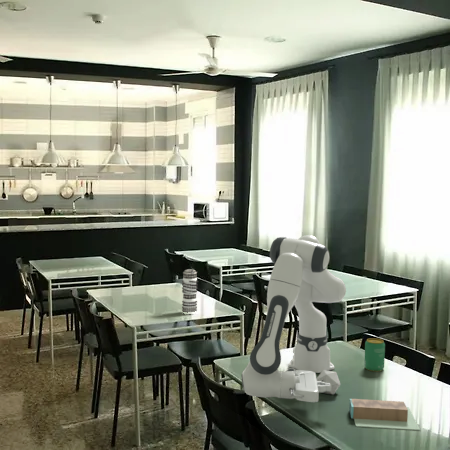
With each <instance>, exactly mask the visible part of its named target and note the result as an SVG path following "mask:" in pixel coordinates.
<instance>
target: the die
mask: <svg viewBox="0 0 450 450" xmlns="http://www.w3.org/2000/svg"><path fill="white" fill-rule="evenodd" d="M316 379H317V381H321V382H325V383H330V384H331V391H324V392H320V393H322V394H327V395H332V396H334V395H335V394H336V392H337V390H338V389H339V388H340V386H341V381H340V379H339V375H338V373H337V371H333V370H328V371H326V370H323V371H322V372H321V373H319V375H317V377H316Z"/></svg>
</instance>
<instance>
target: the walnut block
mask: <svg viewBox="0 0 450 450" xmlns="http://www.w3.org/2000/svg"><path fill="white" fill-rule="evenodd" d="M348 404H349V405H348V406H349V407H348V408H349V409H348V411H349V416H350V418H351V419H353V420H354V419H370V420H386V421H403V422H407V418H408V409H407V407H408V406H407V405H406V403H405V401H398V400H382V399H381V400H378V399H364V398H363V399H362V398H349V403H348Z"/></svg>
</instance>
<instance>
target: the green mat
mask: <svg viewBox="0 0 450 450" xmlns="http://www.w3.org/2000/svg"><path fill="white" fill-rule="evenodd" d="M406 407H407V409H408V418H407V422H403V421H386V420H370V419H353V420H354V424H355V425H354V426H355V427H357V428H358V427H360V428H373V429H374V428H375V429H389V430H390V429H393V430H405V431H407V430H408V431H409V430H410V431H411V430H412V431H421V428H420V427H419V425H418V422H417V421H416V419H415V417H414V415H413V413H412V411H411V409H410V407H408V406H406Z"/></svg>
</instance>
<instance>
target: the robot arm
mask: <svg viewBox="0 0 450 450" xmlns="http://www.w3.org/2000/svg"><path fill="white" fill-rule="evenodd" d="M269 258H270V260H271V262H272V264H274V265H273V268H272V271H271V274H270V276H269V281H268V285H267V293H266V303H267V304H266V306H267V307H266V308H267V309H266V318H265V320H264V324H263V325H264V326H263V328H262V331H261V332H262V333H261V336H260V339H259V341H258V342H257V343H256V345H255V346H254V347H253V348H252V350H251V352H250V354H249V355H250V356H249V361H248V364H247V366H245V369H244V370H243V371H242V373H241V383H242V385H241V387H242V390H243V391H244V393H246V395H249V396H251V397H259V398H272V397H274V398H277V399H288V400H297V401H300V402H307V403H317V402H319V394H320V393H321V392H324V391H331V384H330V383H325V382H321V381H317V374H318V373H319V374H320V373H321V372H322V371H323V370H326V371H333V370H335V365H334V364H333V363H332V362H331V349H330V348H329V346H328V338H327V337H328V335H327V316H326V315H325V313H324V312H322V311H321V310H319V309H318V308H317V307H315V306H314V304H313V303H322V304H323V303H325V304H332V303H341V301H342V300H344V298H345V296H346V292H347V287H346V284H345V282H344V281H343V279H342V278H340V277H338V276H335V275H334V274H333V273H332V272H330V271H329V270H328V268H327V267H328V265H329V263H330V251H329V249H328V248H327V246H325V245H324V244H321V242H320V241H319V238H317V237H316V236H314V235H311V234H307V235H306V234H304V235H302V236H300V237H299V238H290V237H289V238H287V237H286V236H285V237H284V236H281V237H277V238H275V239H274V240H273V241H272V243H271V245H270V248H269ZM294 307H295V309H296V312H297V314H298V325H299V326H298V327H299V328H298V329H299V330H298V331H299V332H298V333H297V344H296V345H295V347H293V349H292V350H293V351H292V353H293V356H292V359H291V360H290V362H289V364H288V367H289V368H288V369H286V370H284V371H282V370H279V368H280V365H281V364H282V363H281V362H282V355H281V349H280V342H281V337H282V334H283V329H284V326H285V322H286V319H287V317H288V314H289V313H290V312H291V310H292V309H293V308H294ZM316 373H317V374H316Z"/></svg>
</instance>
